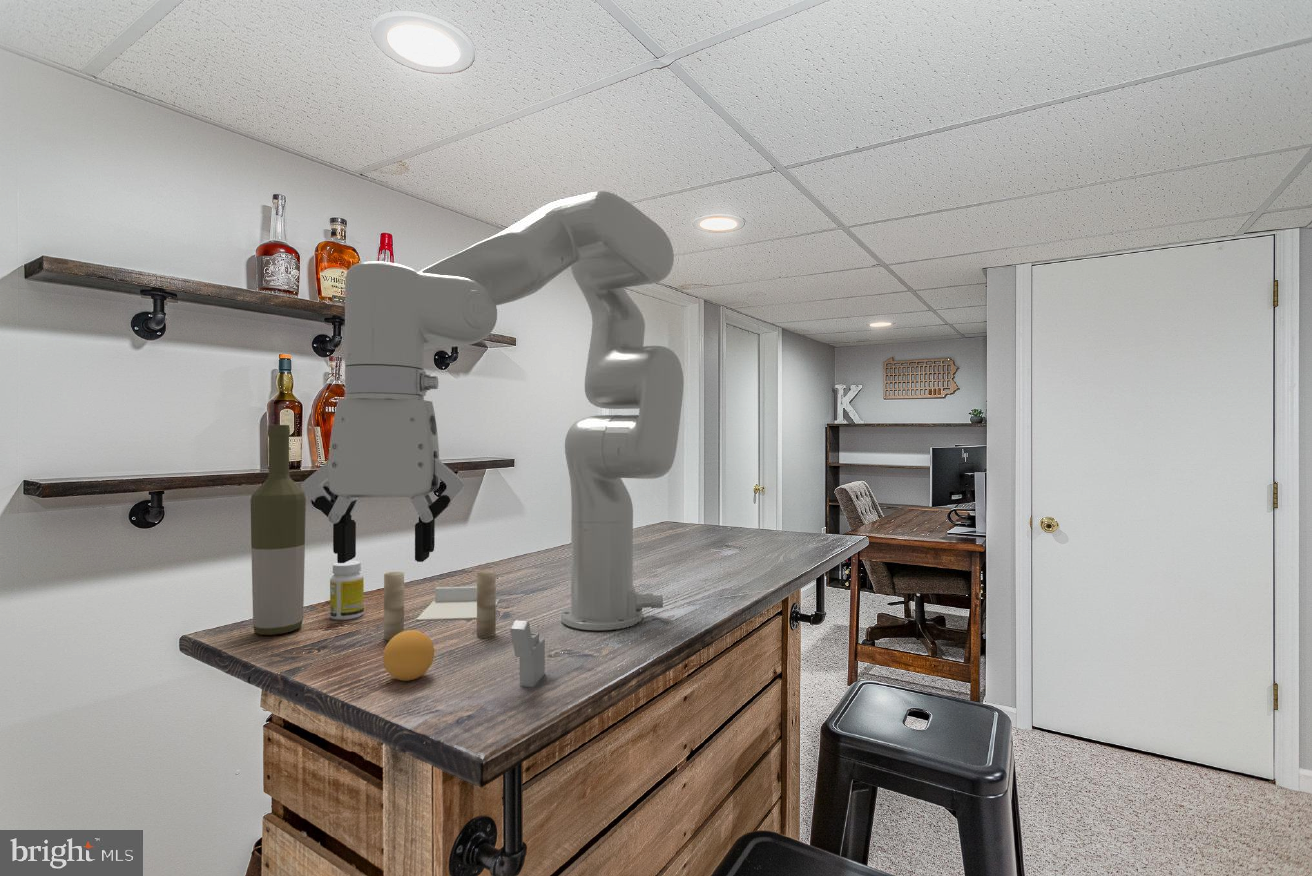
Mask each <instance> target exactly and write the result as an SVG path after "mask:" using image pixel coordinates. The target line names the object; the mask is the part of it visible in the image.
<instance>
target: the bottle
mask: <svg viewBox="0 0 1312 876" xmlns="http://www.w3.org/2000/svg"><path fill="white" fill-rule="evenodd" d="M267 427H268V428H267V436H268V476H267V479H265V480H264V482H263V483H262V484H261V485H260V486H259V487H258V488H257V489H256V490H255V491H254V492H253V493H252V494H251V498H250V538H251V539H250V541H251V543H250V545H251V547H250V548H251V552H250V553H251V586H252V587H251V588H252V589H251V590H252V591H251V592H252V593H251V595H252V627H253V631H254V633H257V634H258V635H263V636H277V635H278V634H279V635H283V634H288V632H289V633H290V632H293V631H295V630H298V629H300V628H302V625H303V621H304V607H305V606H304V603H305V600H304V599H305V598H304V597H305V596H304V595H305V557H306V516H307V515H306V510H307V508H306V507H307V506H306V505H307V504H306V503H307V497H306V496H307V495H306V493H305V492H304V491H303V490H302V489H301V486H299V485H298V484H297V483H296V482H295V480H293V479H292V478H291V475H290V436H291V429H290V424H268V425H267Z"/></svg>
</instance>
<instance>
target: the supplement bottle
mask: <svg viewBox="0 0 1312 876" xmlns="http://www.w3.org/2000/svg"><path fill="white" fill-rule="evenodd" d="M361 564H362V563H361V561H359V560H349V561H347V562H345V563H338V562H335V563H332V574H333V575H332V576H331V577H330V578H329V579H330V580H329V596H330V597H329V600H330V601H329V602H330V603H329V605H330V606H329V608H330V609H329V613H330V615H329V616H330V619H332V620H337V621H344V620H345V621H346V620H352V619H357V618H359V617H362V616H363V615H364V610H365V608H364V606H365V604H364V587H365V585H364V583H365V582H364V575H363V573H361V571H362V565H361Z"/></svg>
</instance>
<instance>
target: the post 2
mask: <svg viewBox="0 0 1312 876" xmlns="http://www.w3.org/2000/svg"><path fill="white" fill-rule="evenodd" d="M496 573H497V572H496V570H491V569H484V570H483V569H482V570H479V571H477V572H476V586H477V619H476V637H477V638H482V639H485V638H486V639H489V638H492V637H493V638H494V637H495V636H496V634H497V633H496V629H497V628H496V626H497V625H496V623H497V621H496V620H497V619H496V618H497V617H496V615H497V614H496V609H497V607H496V606H497V605H496V599H497V582H496V581H497V578H496V575H497V574H496Z"/></svg>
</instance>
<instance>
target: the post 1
mask: <svg viewBox="0 0 1312 876" xmlns="http://www.w3.org/2000/svg"><path fill="white" fill-rule="evenodd" d="M403 631H405V572H402V571H392V572H391V571H390V572H386V573H384V575H383V640H385V641H387V642H389V641H390V640H391V639H392V638H393V637H394V636H395V635H397V634H399V633H401V632H403Z"/></svg>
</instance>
